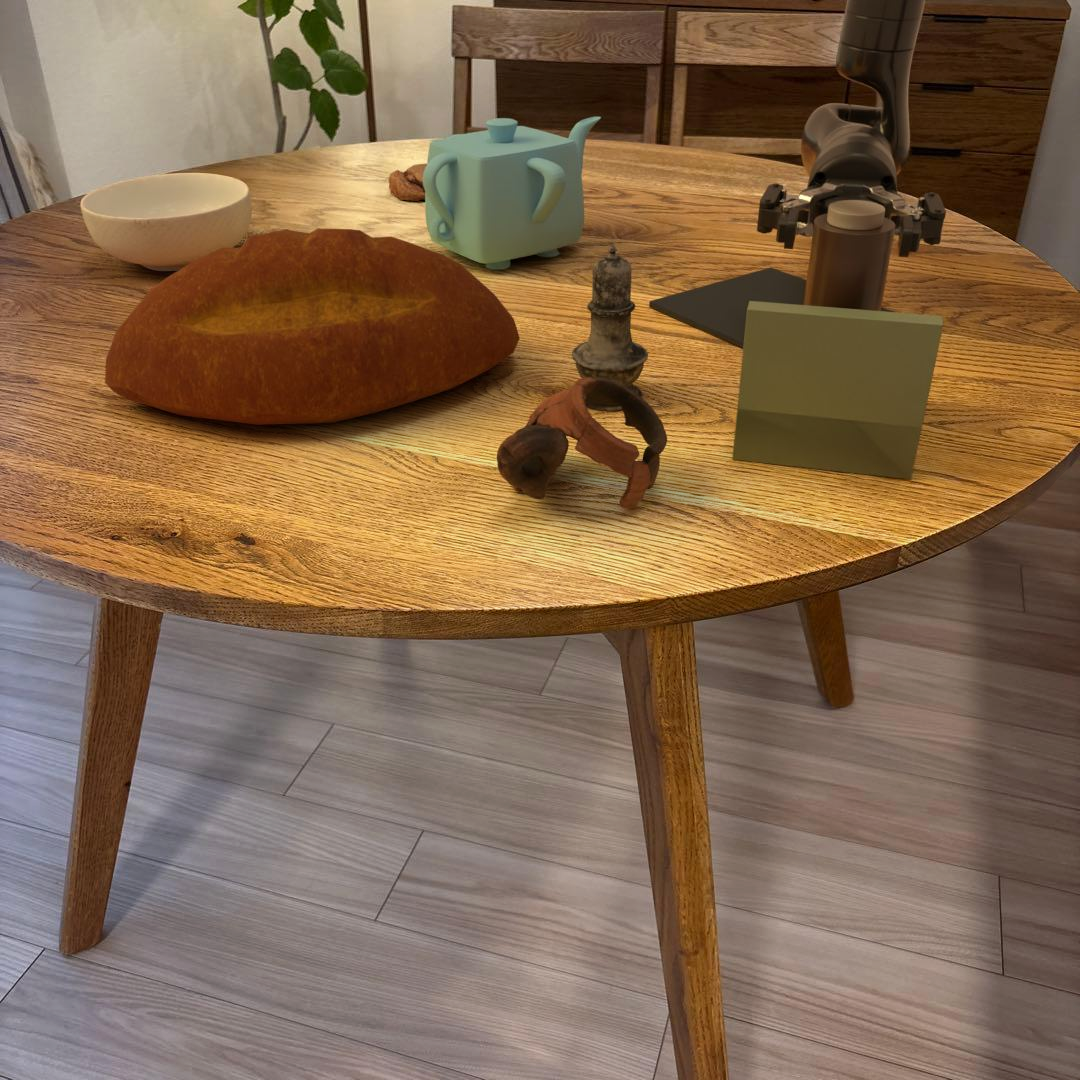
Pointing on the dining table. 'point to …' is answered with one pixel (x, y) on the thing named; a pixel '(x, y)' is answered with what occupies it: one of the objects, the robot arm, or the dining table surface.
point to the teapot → (506, 191)
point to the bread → (308, 330)
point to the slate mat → (732, 302)
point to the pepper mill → (849, 256)
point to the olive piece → (834, 387)
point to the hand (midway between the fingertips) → (847, 240)
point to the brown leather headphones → (583, 440)
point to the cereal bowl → (168, 218)
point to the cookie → (408, 183)
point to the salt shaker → (611, 329)
